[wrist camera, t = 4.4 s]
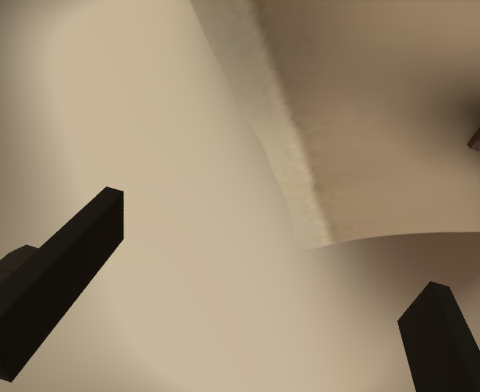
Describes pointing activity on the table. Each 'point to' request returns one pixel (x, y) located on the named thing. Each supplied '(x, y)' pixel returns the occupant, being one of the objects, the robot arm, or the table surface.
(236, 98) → the table surface
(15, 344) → the robot arm
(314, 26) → the table surface
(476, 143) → the shelf stand
